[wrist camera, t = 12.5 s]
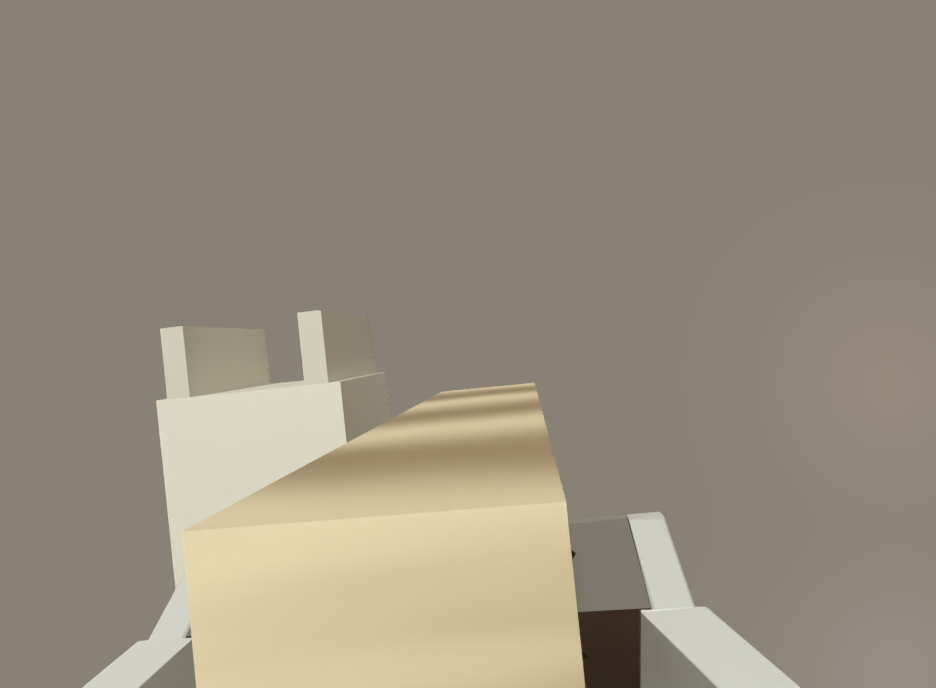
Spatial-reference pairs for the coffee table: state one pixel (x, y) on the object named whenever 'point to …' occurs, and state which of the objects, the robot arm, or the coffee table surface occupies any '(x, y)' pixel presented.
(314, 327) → the bracket post
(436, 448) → the rail
